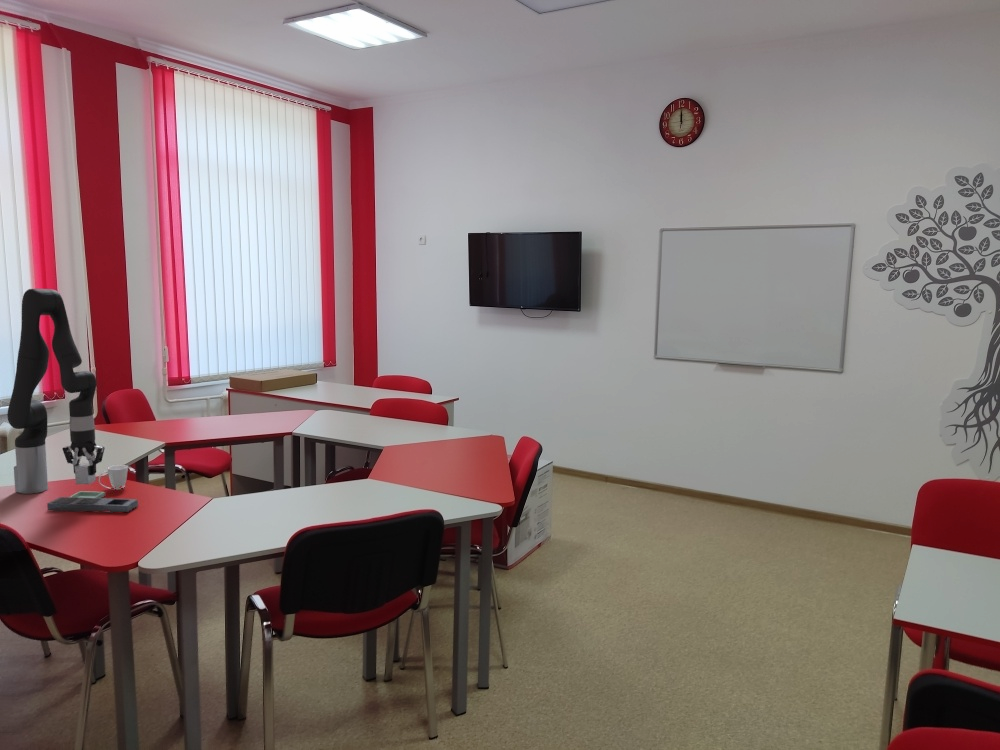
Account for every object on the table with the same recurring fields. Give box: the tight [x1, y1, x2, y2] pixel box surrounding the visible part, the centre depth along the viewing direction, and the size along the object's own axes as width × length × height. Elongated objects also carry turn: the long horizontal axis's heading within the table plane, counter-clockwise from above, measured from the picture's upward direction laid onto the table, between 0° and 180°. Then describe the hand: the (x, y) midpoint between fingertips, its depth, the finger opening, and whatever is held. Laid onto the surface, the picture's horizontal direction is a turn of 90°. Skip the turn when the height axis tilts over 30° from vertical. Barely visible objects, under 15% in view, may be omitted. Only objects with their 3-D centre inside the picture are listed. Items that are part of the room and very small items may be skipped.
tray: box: [69, 490, 106, 498], centre depth 248 cm, size 9×9×2 cm
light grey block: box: [74, 462, 97, 485], centre depth 247 cm, size 4×4×6 cm
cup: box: [98, 464, 129, 490], centre depth 261 cm, size 7×10×8 cm
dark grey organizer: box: [46, 496, 139, 513], centre depth 240 cm, size 27×7×3 cm, turn 91°
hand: (85, 474), depth 247 cm, fingers closed on light grey block, 4 cm apart
